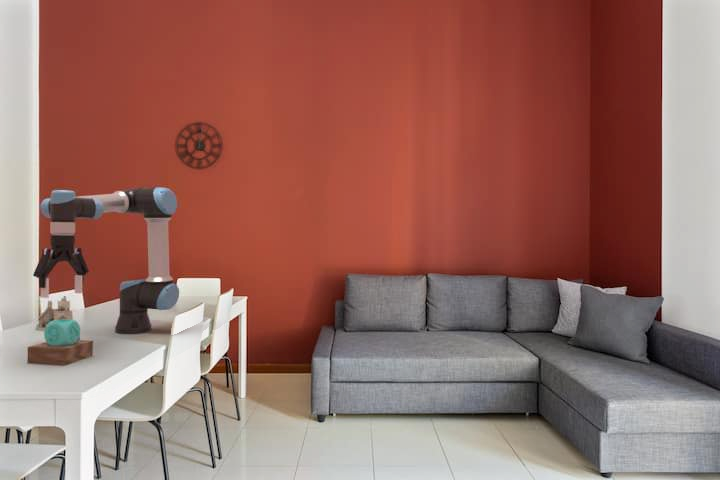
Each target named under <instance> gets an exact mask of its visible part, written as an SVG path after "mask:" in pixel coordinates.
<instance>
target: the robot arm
mask: <svg viewBox="0 0 720 480" xmlns="http://www.w3.org/2000/svg"><path fill="white" fill-rule="evenodd" d="M39 207H40V212H41V214H42V215H43V216H44V217H45V218H49V219H50V228H49V229H50V232H49V233H50V234H52V235H50V236H49V243H50V246H51V248H42V252H41V253H42V254H41V256H40V259H39V261H38V263H37V266H36V267H35V269H34V272H33V277H36V278H37V279H38V281H39V282H38V287H39V289H40V298H43V299H44V298H45V299H49V297H50V296H49V295H50V278H49V277H48V276H49V275H50V273H51V272H52V270H54V268H55V267H56V265H57V264H58V263H60V262H68V264H69V265H70V266H71V268H72V269H73V270H74V272H75V273H76V274H75V275H74V294H83V284H84V281H85V280H84V276H86V275H87V274H89V272H90V271H89V269H88V266H87V264H86V261H85V258H84V256H83V253H82V252H83V251H82V248H81V247H74V246H75V245H76V236H75V235H74V234H76V219H84V220H85V219H89V220H96V219H100V218H101V217H102V215H103V214H105V213H106V214H107V213H113V212H116V213H118V214H123V213H124V214H125V213H127V214H138V215H143V219H144V220H145V221H146V225H147V254H148V256H147V258H148V276H147V277H146V278H145V279H135V280H126V281H122V282H121V283H120V284H119V285H120V286H119V316H118V318H117V321H116V325H115V326H114V332H115V333H117V334H122V335H123V334H128V335H129V334H130V335H132V334H142V333H147V332H151V331H152V323H151V320H150V317H149V314H148V311H149V310H158V311H165V310H166V311H167V310H171V309H173V307H175V306H176V304H177V303H178V300H179V297H180V288H179V287H178V285H177V284H175V283H174V278H173V276H171V275H170V245H169V241H170V239H169V221H171V220H172V219H173V218H172V215H173V214H174V213H175V212H176V210H177V208H178V200H177V197H176V195H175V193H174V192H173V191H172V190H171V189H169V188H166V187H160V186H158V187H135V188H129V189H122V190H116V191H114V192H113V193H107V194H105V193H103V194H95V195H94V194H93V195H80V196H76V192H75V191H73V190H66V189H64V190H63V189H54V190H52V191H51V193H50V197H49V198H45V199H43V200H42V202H41V203H40V206H39Z"/></svg>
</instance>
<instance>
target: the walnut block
mask: <svg viewBox="0 0 720 480" xmlns="http://www.w3.org/2000/svg"><path fill="white" fill-rule="evenodd" d="M93 342H94V340H85V339H84V340H83V339H82V340H81V339H80V340H77V341H76V342H75V343H74V344H72V345H67V346H50V345H49V344H48V343H47V342H46V341H45V342H41V343H39V344H37V343H36V344H33V345H30V346H27V360H26V361H27V364H32V365H33V364H35V365H48V366H61V367H63V366H64V367H65V366H67V365H71V364H73V363H76V362H80V361H82V359H83V360H85V359H87V358H91V357H93V355H94V354H93V352H94V349H93V347H94V343H93Z"/></svg>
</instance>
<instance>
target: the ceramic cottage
mask: <svg viewBox="0 0 720 480" xmlns="http://www.w3.org/2000/svg"><path fill="white" fill-rule="evenodd" d="M70 302H71V301H70V300H67V296H66V295H63V297H62V298H61V299H60V300H58V301H57V308H53V301H52V300H47V307H46V308H45V309H44V310H43V312H42V313H40V315H38V324H36V325H35V330H36V331H40V332H45V328H46V326H47V325H48V323H49V322H51V321H54V320H62V319H72V320H74V319H73V318H74V317H73V310H72V309H71V310H70V308H71V303H70Z"/></svg>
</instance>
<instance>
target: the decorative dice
mask: <svg viewBox="0 0 720 480" xmlns="http://www.w3.org/2000/svg"><path fill="white" fill-rule="evenodd" d="M72 319H73V318H72ZM72 319H62V320H54V321H51V322H49V323H48V325H47V326H46V328H45V331H43V332H44V333H43V336H44V337H43V338H44V340H45V342H47V343H48V344H49V345H50V346H67V345H72V344H74V343H75V342H76V341H77V340H78V338H79V336H80V335H81V327H80V324H79V323H78V321H76V319H73V320H72Z"/></svg>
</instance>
